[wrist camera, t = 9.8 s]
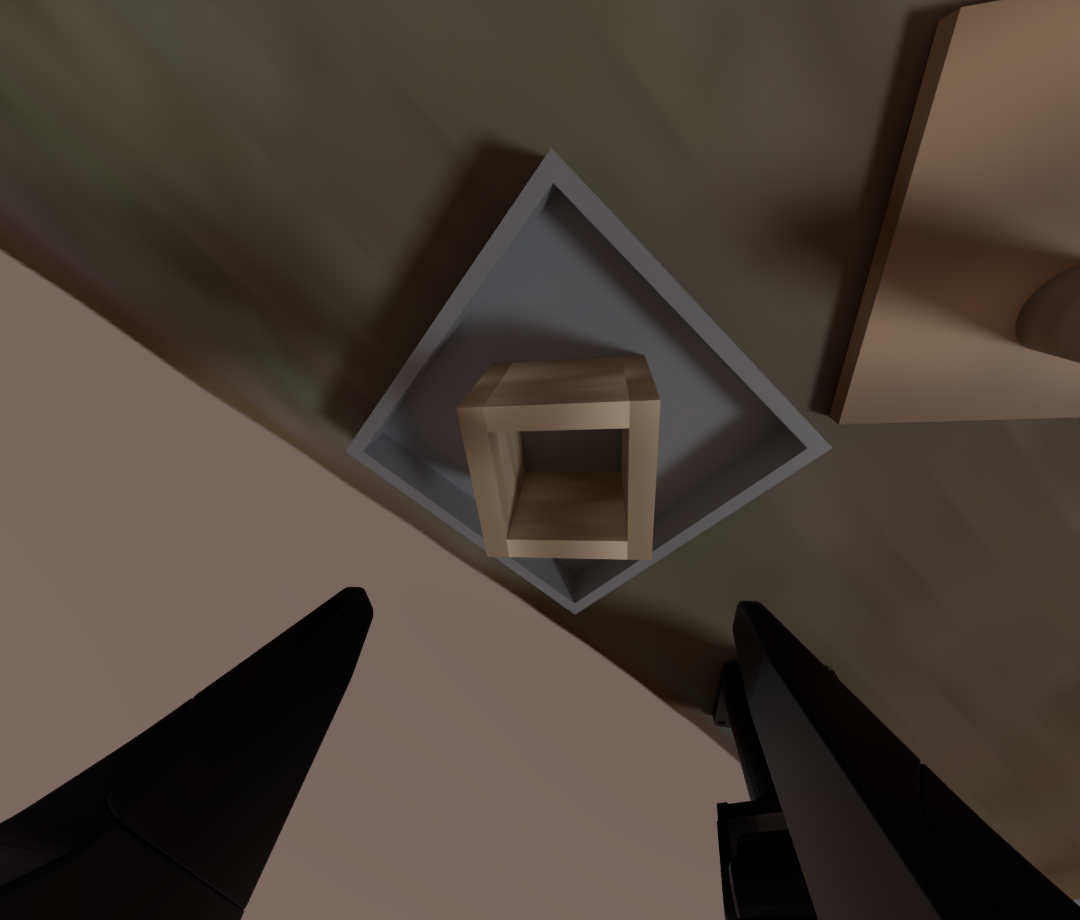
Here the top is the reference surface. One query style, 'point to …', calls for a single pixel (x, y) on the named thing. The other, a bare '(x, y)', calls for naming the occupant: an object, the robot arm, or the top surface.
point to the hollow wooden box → (563, 497)
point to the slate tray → (579, 333)
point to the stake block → (979, 232)
